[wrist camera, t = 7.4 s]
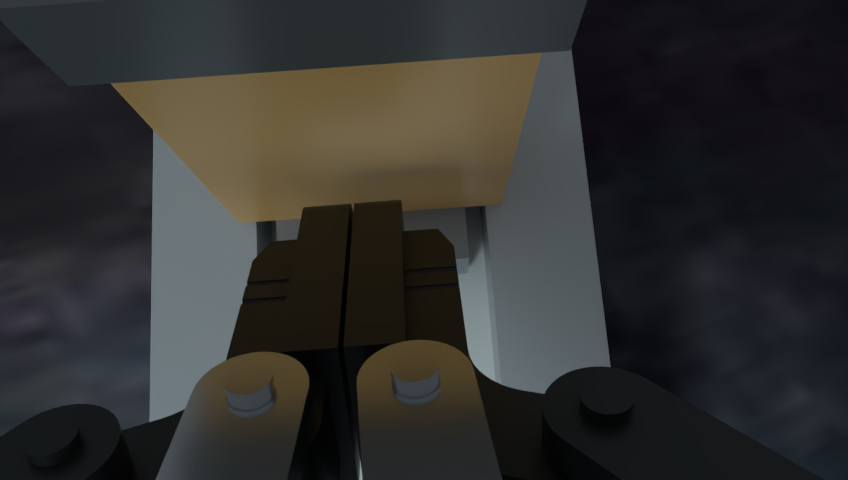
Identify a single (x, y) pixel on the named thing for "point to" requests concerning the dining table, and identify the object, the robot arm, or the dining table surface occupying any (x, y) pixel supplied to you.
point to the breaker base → (479, 288)
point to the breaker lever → (318, 94)
